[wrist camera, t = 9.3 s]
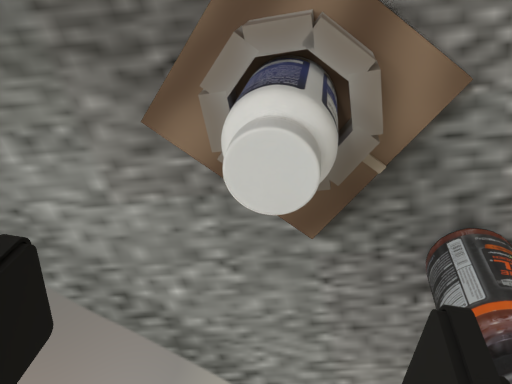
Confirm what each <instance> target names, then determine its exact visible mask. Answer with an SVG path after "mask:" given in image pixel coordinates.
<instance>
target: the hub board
mask: <svg viewBox="0 0 512 384" xmlns="http://www.w3.org/2000/svg"><path fill="white" fill-rule="evenodd" d="M281 56H299V57H303V58H306V59H309V60H311V61H313V62H315V63H316V64H318V65H319V66H320V67H321V68H322V69H324V70H325V72H326V73H327V74H328V75H329V77H330V79H331V80H332V82H333V85H334V88H335V92H336V97H337V115H338V150H337V155H336V159H335V162H334V164H333V167H332V168H331V170H330V172H329V173H328V175H327V176H326V177H325V179H324V180H323V181H322V182H321V183H320V184H319V186H318V189H317V191H316V192H315V194H314V196H313V197H312V198H311V200H310V201H309V202H308V203H306V204H305V205H304V206H303V207H301V208H300V209H298V210H296V211H294V212H291V213H288V214H283V215H278V216H279V217H280V218H282V219H283V220H285V221H286V222H288V223H289V224H291V225H292V226H294V227H295V228H297V229H298V230H299V231H301V232H302V233H304V234H305V235H307V236H308V237H310V238H311V239H313V238H314V237H315V236H316V235H317V234H318V233H319V232H320V231H321V230H322V229H323V228H324V227H325V226H326V225H327V224H328V223H329V222H330V221H331V220H332V219H333V218H334V217H335V216H336V215H337V214H338V213H339V212H340V211H341V210H342V209H343V208H344V207H345V206H346V205H347V204H348V203H349V202H350V201H351V200H352V199H353V198H354V197H355V196H356V195H357V194H358V193H359V192H360V191H361V190H362V189H363V188H364V187H365V186H366V185H367V184H368V183H369V182H370V181H371V180H372V179H373V178H374V177H375V176H376V175H377V174H378V173H379V174H380V173H381V172H382V171H383V170H384V169H385V168H386V165H387V164H388V163H389V162H390V161H391V160H392V159H393V158H394V157H395V156H396V155H397V154H398V153H399V152H400V151H401V150H402V149H403V148H404V147H405V146H406V145H407V144H408V143H410V142H411V141H412V140H413V139H414V138H415V137H416V136H417V135H418V134H419V133H420V132H421V131H422V130H423V129H424V128H425V127H426V126H427V125H428V124H429V123H430V122H431V121H432V120H433V119H434V118H435V117H436V116H437V115H438V114H439V113H440V112H441V111H442V110H443V109H444V108H445V107H446V106H447V105H448V104H449V103H450V102H451V101H452V100H453V99H454V98H455V97H456V96H457V95H458V94H459V93H460V92H461V91H462V90H463V89H464V88H465V87H466V86H467V85H468V84H469V83H470V82H471V81H472V80H473V79H472V78H471V77H470V76H469V75H468V74H467V73H466V72H465V71H463V70H462V69H461V68H460V67H459V66H457V65H456V64H455V63H454V62H453V61H451V60H450V59H449V58H448V57H447V56H445V55H444V54H443V53H442V52H441V51H439V50H438V49H437V48H436V47H435V46H433V45H432V44H431V43H430V42H429V41H427V40H426V39H425V38H424V37H422V36H421V35H420V34H419V33H418V32H416V31H415V30H414V29H413V28H412V27H410V26H409V25H408V24H407V23H406V22H404V21H403V20H402V19H401V18H400V17H398V16H397V15H396V14H395V13H394V12H392V11H391V10H390V9H389V8H388V7H386V6H385V5H384V4H383V3H382V2H380V1H379V0H211V1H210V3H209V5H208V6H207V8H206V10H205V12H204V13H203V15H202V17H201V18H200V20H199V22H198V24H197V25H196V27H195V29H194V31H193V32H192V34H191V36H190V37H189V39H188V41H187V43H186V44H185V46H184V48H183V50H182V51H181V53H180V55H179V56H178V58H177V60H176V62H175V63H174V65H173V67H172V69H171V70H170V72H169V74H168V76H167V77H166V79H165V81H164V82H163V84H162V86H161V88H160V89H159V91H158V93H157V95H156V96H155V98H154V100H153V101H152V103H151V105H150V107H149V108H148V110H147V112H146V114H145V115H144V117H143V119H142V120H141V122H142V123H143V124H145V125H146V126H148V127H149V128H151V129H152V130H154V131H155V132H156V133H158V134H159V135H161V136H162V137H164V138H165V139H167V140H168V141H170V142H171V143H173V144H174V145H175V146H177V147H178V148H180V149H181V150H183V151H184V152H186V153H187V154H189V155H190V156H191V157H193V158H194V159H196V160H197V161H199V162H200V163H202V164H203V165H205V166H206V167H208V168H209V169H210V170H212V171H213V172H215V173H216V174H218V175H219V176H221V177H222V178H223V159H224V157H223V153H222V147H221V135H222V129H223V126H224V123H225V120H226V118H227V116H228V114H229V112H230V110H231V108H232V107H233V105H234V104H235V102H236V100H237V99H238V97H239V96H240V94H241V92H242V91H243V89H244V88H245V86H246V84H247V83H248V81H249V79H250V78H251V76H252V75H253V74H254V73H255V71H256V70H257V69H258V68H259V67H260V66H262V65H263V64H264V63H266V62H268V61H269V60H272V59H274V58H277V57H281Z"/></svg>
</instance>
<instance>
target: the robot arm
mask: <svg viewBox="0 0 512 384" xmlns="http://www.w3.org/2000/svg"><path fill="white" fill-rule="evenodd" d="M52 329H53V320H52V315H51V311H50V306H49V302H48V297H47V293H46V289H45V284H44V280H43V275H42V271H41V267H40V262H39V258H38V253H37V249H36V247H35V246H34V245H32V244H31V242H30V240H29V239H28V238H25V237H19V236H12V235H6V234H2V235H0V384H17V382H18V381H19V380H20V378H21V377H22V375H23V374H24V372H25V371H26V370H27V368H28V367H29V366H30V364H31V363H32V361H33V360H34V358H35V357H36V355H37V354H38V353H39V351H40V350H41V349H42V347H43V346H44V344H45V343H46V341H47V340H48V339H49V337H50V335H51V333H52ZM402 384H510V382H509V381H508V380H507V379H506V378H505V377H503V376H500V375H498V372H497V370H496V367H495V365H494V362H493V360H492V357H491V355H490V352H489V350H488V347H487V345H486V342H485V340H484V337H483V334H482V332H481V329H480V327H479V324H478V322H477V319H476V317H475V314H474V313H473V311H472V310H471V309H470V308H464V307H458V306H452V305H445V304H443V305H442V306H441V307H440V308H439V310H435V309H433V310H432V311H431V313H430V315H429V317H428V320H427V322H426V325H425V327H424V330H423V332H422V335H421V337H420V340H419V342H418V345H417V347H416V350H415V352H414V355H413V357H412V360H411V362H410V365H409V367H408V370H407V372H406V375H405V377H404V380H403V382H402Z"/></svg>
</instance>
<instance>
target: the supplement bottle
mask: <svg viewBox="0 0 512 384" xmlns="http://www.w3.org/2000/svg"><path fill="white" fill-rule="evenodd" d="M426 272H427V277H428V281H429V284H430V288H431V292H432V295H433V299H434V302H435V306H436V309H437V310H439V308H440V307H441V306H442V305H443V304H445V305H452V306H458V307H464V308H470V309H471V310H472V311H473V313H474V314H475V317H476V319H477V322H478V324H479V327H480V329H481V332H482V334H483V337H484V340H485V342H486V345H487V347H488V350H489V352H490V355H491V357H492V360H493V362H494V365H495V367H496V370H497V372H498V375H500V376H503V377H505V378H506V379H507V380H508V381H509V382H510V384H512V246H511V244H510V243H509V242H508V241H507V240H506V239H505V238H503V237H502V236H501V235H499V234H497V233H494V232H492V231H488V230H484V229H474V228H473V229H470V228H468V229H463V230H459V231H456V232H453V233H450V234H448V235H446V236H445V237H443V238H441V239H440V240H439V241H437V243H436V244H435V245H434V246H433V247H432V248H431V250H430V252H429V253H428V256H427V259H426Z"/></svg>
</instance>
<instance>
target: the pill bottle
mask: <svg viewBox="0 0 512 384" xmlns="http://www.w3.org/2000/svg"><path fill="white" fill-rule="evenodd" d="M221 147H222V153H223V157H224V159H223V178H224V181H225V184H226V186H227V188H228V190H229V192H230V193H231V195H232V196H233V197H234V198H235V199H236V200H237V201H238V202H239V203H240V204H242V205H243V206H245V207H246V208H248V209H250V210H252V211H255V212H257V213H261V214H266V215H283V214H288V213H291V212H294V211H296V210H298V209H300V208H301V207H303V206H304V205H305V204H306V203H308V202H309V201H310V200H311V198H312V197H313V196H314V194H315V192H316V191H317V189H318V186H319V184H320V183H321V182H322V181H323V180H324V179H325V177H326V176H327V175H328V173H329V172H330V170H331V168H332V167H333V164H334V162H335V159H336V155H337V150H338V115H337V97H336V92H335V88H334V85H333V82H332V80H331V79H330V77H329V75H328V74H327V73H326V72H325V70H324V69H322V68H321V67H320V66H319V65H318V64H316V63H315V62H313V61H311V60H309V59H306V58H303V57H299V56H281V57H277V58H274V59H272V60H269V61H268V62H266V63H264V64H263V65H262V66H260V67H259V68H258V69H257V70H256V71H255V73H254V74H253V75H252V76H251V78H250V79H249V81H248V83H247V84H246V86H245V88H244V89H243V91H242V92H241V94H240V96H239V97H238V99H237V100H236V102H235V104H234V105H233V107H232V108H231V110H230V112H229V114H228V116H227V118H226V120H225V123H224V126H223V129H222V135H221Z"/></svg>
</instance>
